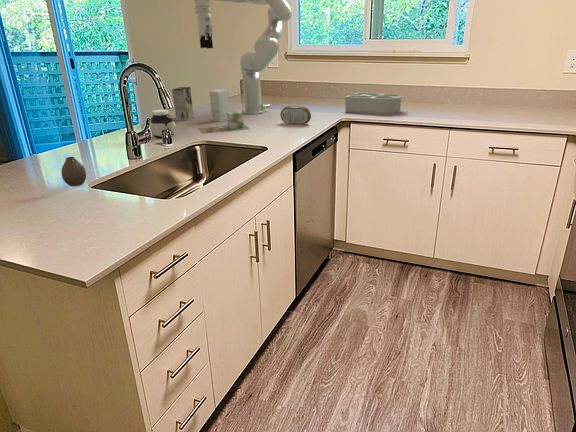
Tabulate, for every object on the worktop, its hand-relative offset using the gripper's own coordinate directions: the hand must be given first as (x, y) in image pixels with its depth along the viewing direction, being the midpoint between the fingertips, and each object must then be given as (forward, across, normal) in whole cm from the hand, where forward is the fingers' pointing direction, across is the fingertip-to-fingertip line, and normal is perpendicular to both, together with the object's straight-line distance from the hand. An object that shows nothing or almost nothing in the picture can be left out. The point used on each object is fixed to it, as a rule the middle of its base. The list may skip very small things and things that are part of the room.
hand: (206, 48), depth 220 cm
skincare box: (+35, -10, -2) cm, 37 cm away
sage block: (+34, -32, -1) cm, 47 cm away
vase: (+36, -80, +72) cm, 114 cm away
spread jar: (+36, -28, +32) cm, 55 cm away
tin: (+35, -40, -29) cm, 60 cm away
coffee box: (+35, +6, +14) cm, 38 cm away
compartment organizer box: (+35, -36, -80) cm, 94 cm away
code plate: (+35, -32, -1) cm, 47 cm away
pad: (+35, -30, +11) cm, 48 cm away
